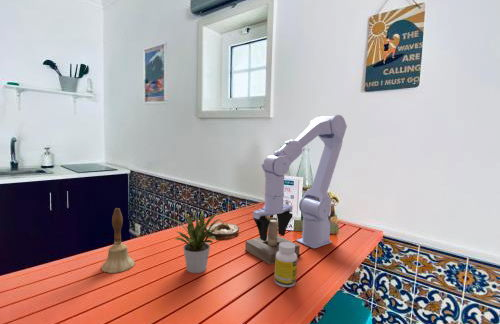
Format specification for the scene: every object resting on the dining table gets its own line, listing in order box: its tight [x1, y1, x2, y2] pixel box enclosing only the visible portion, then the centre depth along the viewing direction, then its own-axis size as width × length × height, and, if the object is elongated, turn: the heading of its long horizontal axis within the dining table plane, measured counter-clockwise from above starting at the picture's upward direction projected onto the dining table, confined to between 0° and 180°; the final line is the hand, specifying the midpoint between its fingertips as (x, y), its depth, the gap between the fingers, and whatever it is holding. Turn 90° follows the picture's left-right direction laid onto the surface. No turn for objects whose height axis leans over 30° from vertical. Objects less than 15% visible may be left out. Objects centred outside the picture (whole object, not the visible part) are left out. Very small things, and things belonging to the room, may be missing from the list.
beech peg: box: [267, 219, 279, 247], centre depth 87 cm, size 3×3×10 cm
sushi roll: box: [204, 222, 240, 240], centre depth 103 cm, size 15×15×4 cm
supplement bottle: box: [274, 242, 298, 288], centre depth 70 cm, size 5×5×10 cm
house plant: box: [170, 209, 222, 274], centre depth 75 cm, size 14×14×16 cm
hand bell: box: [100, 207, 136, 274], centre depth 75 cm, size 8×8×16 cm
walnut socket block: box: [244, 234, 301, 266], centre depth 87 cm, size 12×12×3 cm
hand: (272, 237), depth 87 cm, fingers open, 7 cm apart
